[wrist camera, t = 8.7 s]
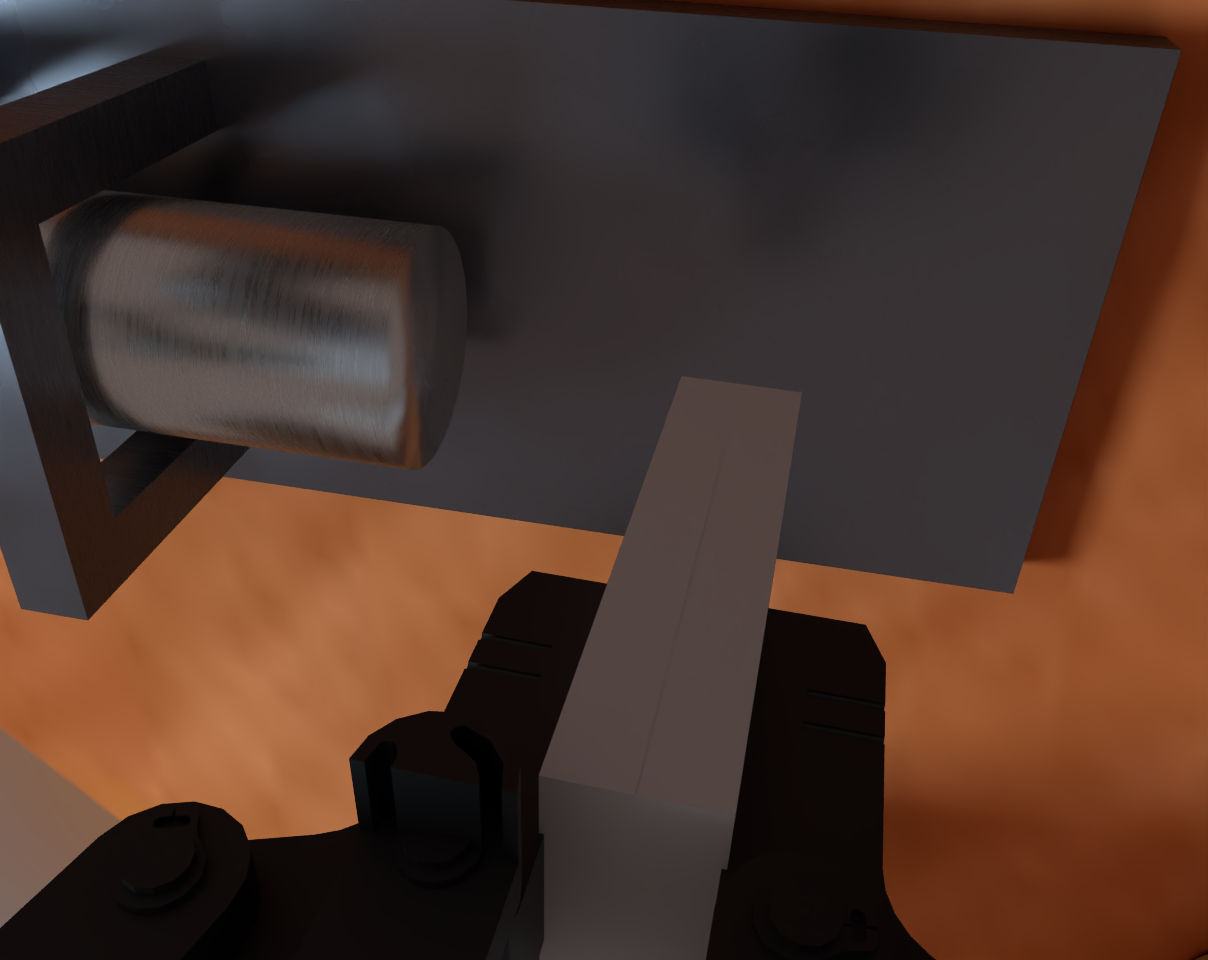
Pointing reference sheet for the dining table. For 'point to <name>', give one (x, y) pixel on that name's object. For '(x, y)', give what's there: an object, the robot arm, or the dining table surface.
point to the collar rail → (603, 250)
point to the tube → (262, 325)
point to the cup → (1203, 957)
